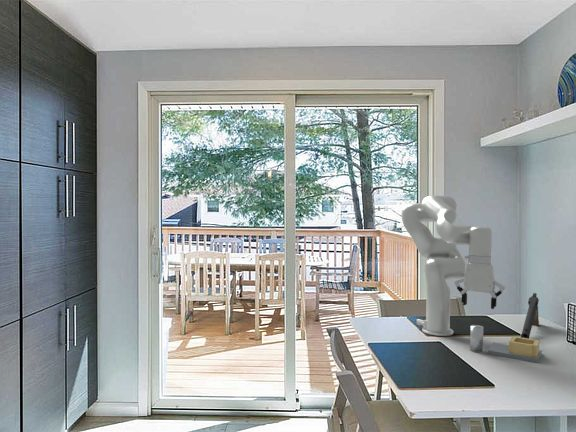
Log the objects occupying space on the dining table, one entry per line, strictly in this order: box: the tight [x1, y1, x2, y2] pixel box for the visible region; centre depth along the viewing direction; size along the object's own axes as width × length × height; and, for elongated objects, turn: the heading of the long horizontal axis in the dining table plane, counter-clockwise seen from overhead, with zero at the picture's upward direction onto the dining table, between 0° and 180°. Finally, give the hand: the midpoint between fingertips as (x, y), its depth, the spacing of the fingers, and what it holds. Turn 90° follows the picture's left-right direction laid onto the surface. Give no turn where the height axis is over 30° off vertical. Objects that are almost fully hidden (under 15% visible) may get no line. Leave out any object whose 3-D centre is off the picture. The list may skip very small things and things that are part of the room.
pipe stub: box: [469, 324, 484, 354], centre depth 165 cm, size 4×4×9 cm
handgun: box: [520, 292, 540, 339], centre depth 192 cm, size 31×4×15 cm, turn 144°
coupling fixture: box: [487, 336, 543, 364], centre depth 162 cm, size 16×12×5 cm
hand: (478, 306), depth 164 cm, fingers open, 9 cm apart
